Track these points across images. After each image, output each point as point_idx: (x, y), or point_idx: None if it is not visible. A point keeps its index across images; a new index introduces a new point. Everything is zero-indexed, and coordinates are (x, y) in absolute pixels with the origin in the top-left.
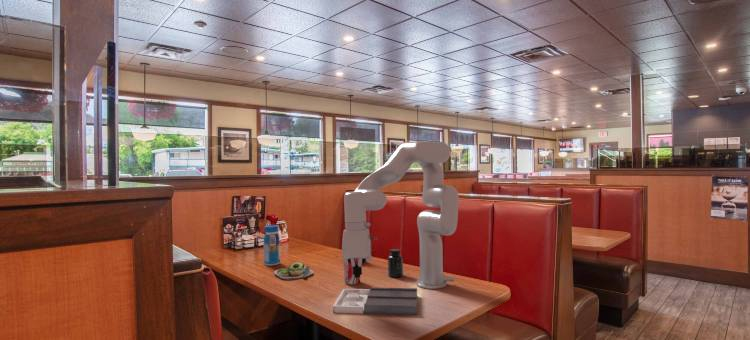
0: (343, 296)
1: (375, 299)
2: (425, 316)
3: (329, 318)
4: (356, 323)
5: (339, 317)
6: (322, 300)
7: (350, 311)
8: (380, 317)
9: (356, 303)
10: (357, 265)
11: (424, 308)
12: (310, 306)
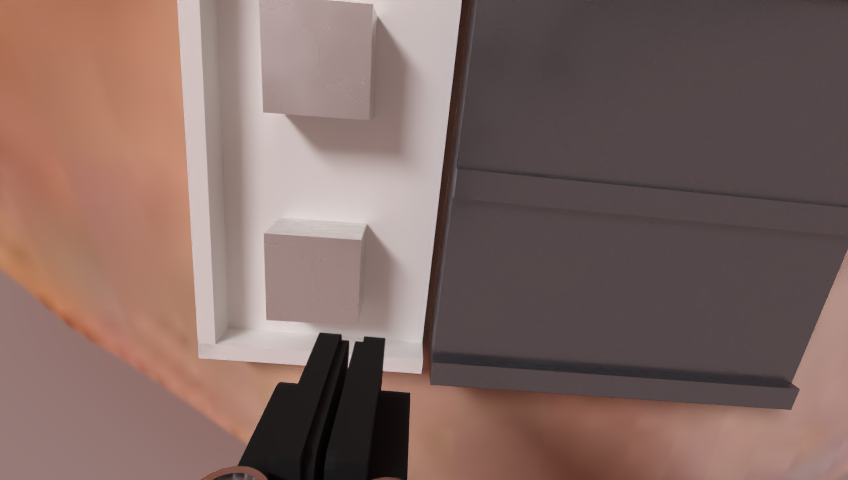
0: (219, 21)
1: (518, 248)
2: None
3: (222, 416)
4: None
5: None
6: (51, 83)
7: None
8: (526, 403)
9: (364, 246)
10: (314, 477)
11: None
12: (10, 222)
